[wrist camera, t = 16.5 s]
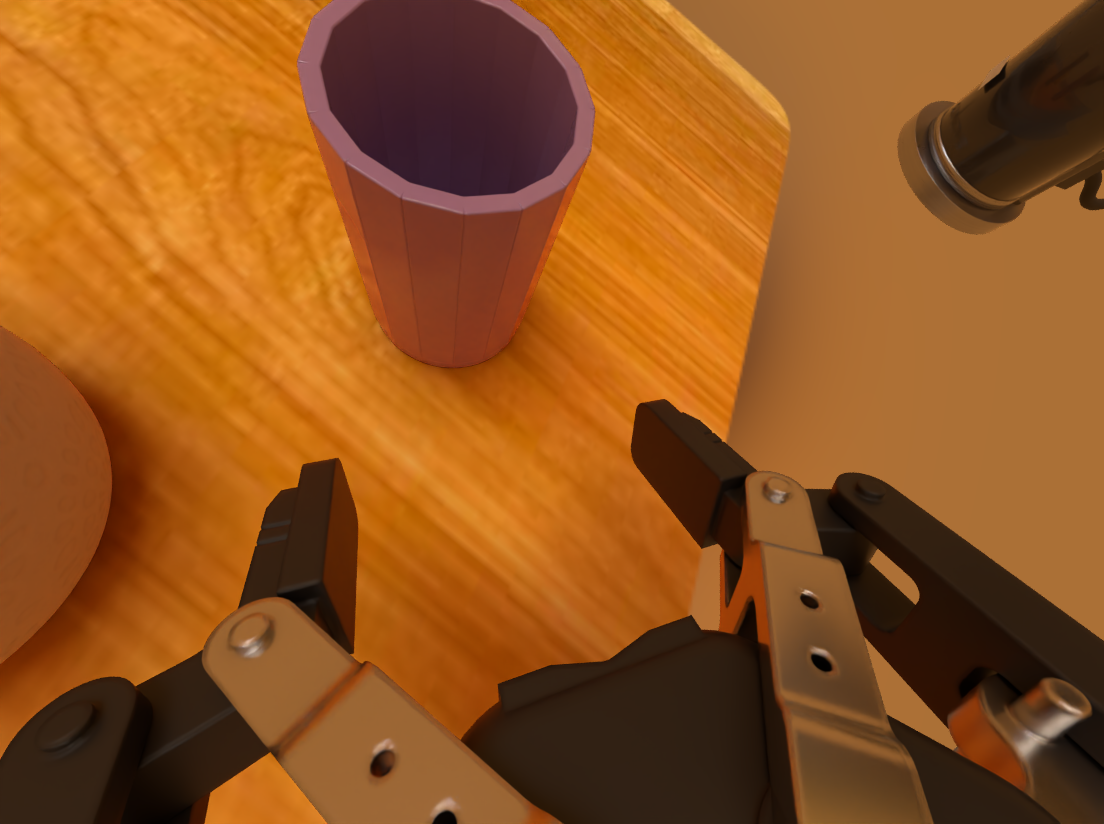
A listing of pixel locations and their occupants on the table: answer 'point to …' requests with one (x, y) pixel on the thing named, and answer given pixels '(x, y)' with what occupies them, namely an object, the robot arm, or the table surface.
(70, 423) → the planter
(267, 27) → the table surface
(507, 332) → the lilac cup
